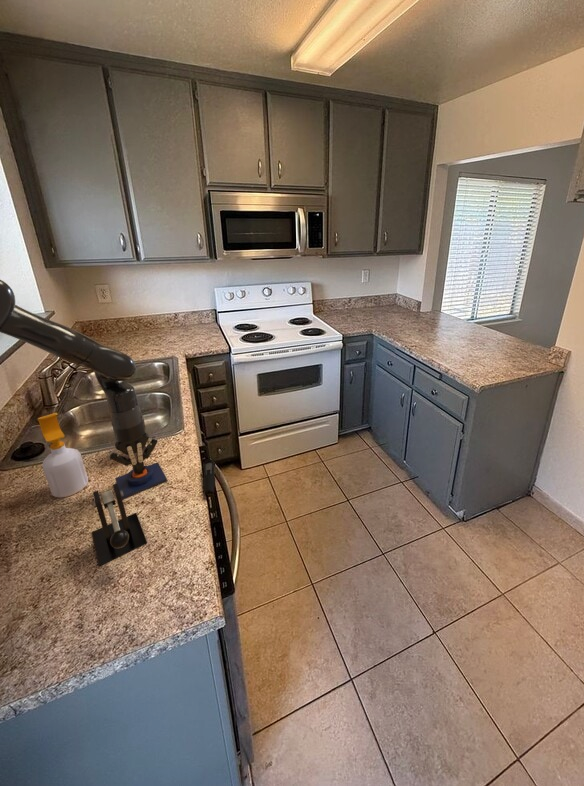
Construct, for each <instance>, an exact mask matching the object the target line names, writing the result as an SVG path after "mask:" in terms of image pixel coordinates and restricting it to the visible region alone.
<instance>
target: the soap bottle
mask: <svg viewBox="0 0 584 786" xmlns="http://www.w3.org/2000/svg"><path fill="white" fill-rule="evenodd" d="M57 415H59V414H58V412H53V413H50V414H46V415H43V416H41V417H38V418H37V421H38V424H39V428H40V430H41V433H42V436H43V438H44V440H45V442H47V443H52V444H50V445H49V449H50V452H51V453H49V454H48V455H47V456H46V457H45V458H44V459H43V461H42V464H41V467H42V470H43V473H44V477H45V479H46V482H47V484H48V487H49V490H50V493H51V495H52V496H53V497H55V498H66V497H71V496H73V495H75V494H77V493H79V492H81V491H83V489H85V488H86V486H87V485H88V483H89V478H88V474H87V471H86V467H85V464H84V460H83V457H82V454H81V452H80V451H79V450H78V449H76V448H73V447H66V444H65V442H64V440H63V441H62V439H63V438H65V434H64V432H63V431H62V429H61V426H60V424H59V421H58V417H57Z"/></svg>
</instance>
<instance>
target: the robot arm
mask: <svg viewBox="0 0 584 786" xmlns="http://www.w3.org/2000/svg"><path fill="white" fill-rule="evenodd" d="M0 333H1V334H4V335H6V336H9V337H12V338H14V339H16V340H19V341H21V342H25V343H27V344H28V345H31V346H33V347H35V348H38V349H40V350H42V351H44V352H46V353H49V354H51V355H52V356H55V357H57V358H60V359H61V360H64V361H66V362H68V363H70V364H73V365H76V366H79V367H82V368H84V369H85V368H86V369H90V370H93V373H94V376H95V378H96V380H97V382H98V384H99V386H100V388H101V390H102V392H103V393H104V395H105V397H106V402H107V406H108V410H109V419H110V423H111V427H112V429H113V434H114V438H115V444H114V448H113V449H112V450H109V451H108V456H109V458H110V459H111V460H113V461H115V462H117V463H119V464H122V465H123V466H125V467H128V466H131V467H132V470H133V471H134V473H135V474H136V473H137V474H138V475H139V474H141V473H143V471H144V470H145V467H144V466H145V463H144V461H145V460H146V459H149V458H150V457H151V455H152V453H153V451H154V449H155V447H156V446H157V444H158V439H157V438H156V436H149V434H148V433H147V432H146V431H145V427H146V426H145V427H144V422H145V421H144V422H143V418H144V416H143V413H142V410H141V407H140V405H139V400H138V396H137V395H138V394H137V391H136V389H135V386H133V385H132V384H131V383H129V382H128V380H130V379H131V378H132V377H133V376H134V375H135V373H136V369H137V366H136V365H137V364H136V362H135V360H134V359H133V358H132V356H131V357H130V355H128V354H127V353H124V352H121V351H119V350H117V349H114V348H111V347H110V346H107V345H104V344H102V343H99V342H98V341H96V340H95V339H93V338H91V337H89V336H87V335H85V334H84V333H81V332H79V331H78V330H75V329H73V328H70V327H69V326H66V325H63V324H61V323H59V322H56V321H53V320H50V319H47V318H45V317H42V316H41V315H38V314H35V313H33V312H31V311H29V310H26V309H24V308H23V307H21V306H18V305H17V304H16V295H15V293H14V290H13V288H11V286H9V284H8V283H7V282H5V281H4V280H2V279H0ZM145 446H146V448H145V450H144V452H143V453H142V450H143V449H144V447H145ZM120 452H121V453H122V454H121V453H120ZM134 453H136V456H137V460H136V459H135V456H134ZM124 454H126V455H129V457H130V458H126V457H124Z"/></svg>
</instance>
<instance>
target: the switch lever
mask: <svg viewBox="0 0 584 786" xmlns="http://www.w3.org/2000/svg"><path fill="white" fill-rule="evenodd" d="M100 495H101V496H100V497H101V500H102V503H103V508H104V509H107V510H108V514H109V517H110V520H111V523H112V525H113V528H114V532H115V533H114V534H113V535H112V536H111V538H110V544H111V546H112V547H113V548H122V547H124V546H125V545H126V544H127V542H128V540H129V534H128V532H127V531H125V530H120V527H119V524H118V520H119V519H118V517H117V513H116V510H115V506H116V504H117V502H116V498H115V495H114V491H113V489H109V490H107V491H104V492H101V493H100Z"/></svg>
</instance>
